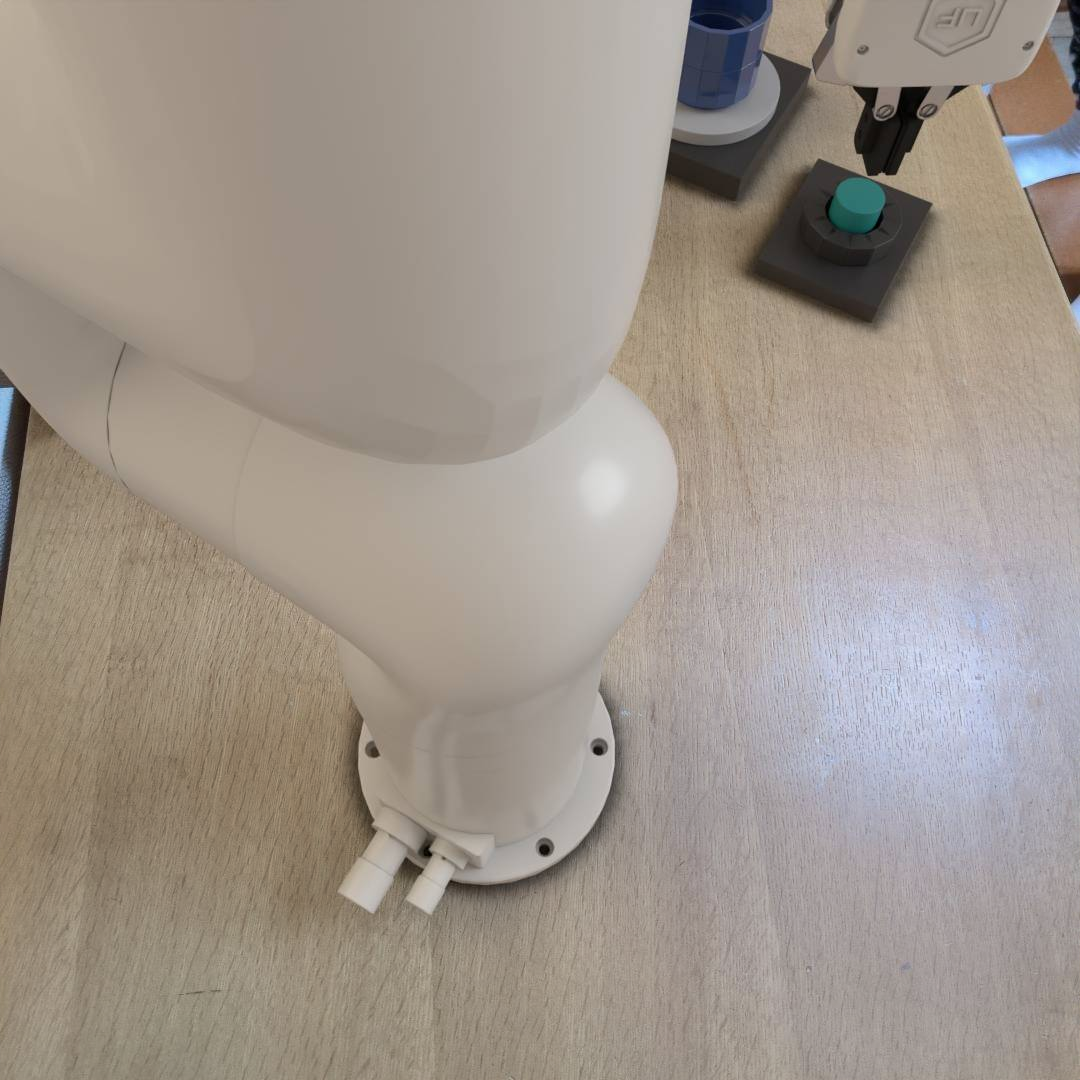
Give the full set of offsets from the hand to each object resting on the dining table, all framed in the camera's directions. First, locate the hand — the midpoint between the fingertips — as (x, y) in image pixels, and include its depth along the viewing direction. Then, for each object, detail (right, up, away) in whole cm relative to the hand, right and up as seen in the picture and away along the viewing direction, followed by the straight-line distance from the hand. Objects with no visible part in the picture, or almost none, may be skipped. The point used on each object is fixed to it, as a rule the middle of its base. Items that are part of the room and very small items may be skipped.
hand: (876, 157), depth 60 cm
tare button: (0, -2, +4) cm, 5 cm away
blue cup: (-9, +8, +9) cm, 15 cm away
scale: (-9, +7, +11) cm, 16 cm away
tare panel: (0, -3, +6) cm, 7 cm away
